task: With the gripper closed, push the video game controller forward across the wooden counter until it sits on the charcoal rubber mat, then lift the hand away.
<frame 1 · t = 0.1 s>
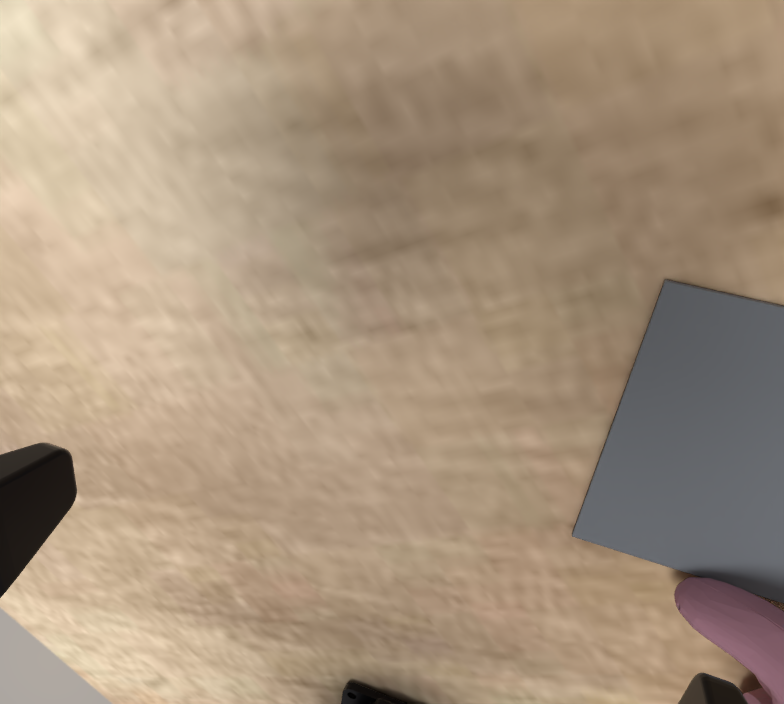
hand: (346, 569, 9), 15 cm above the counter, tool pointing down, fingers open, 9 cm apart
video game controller: (749, 658, 25), on the counter, touching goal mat
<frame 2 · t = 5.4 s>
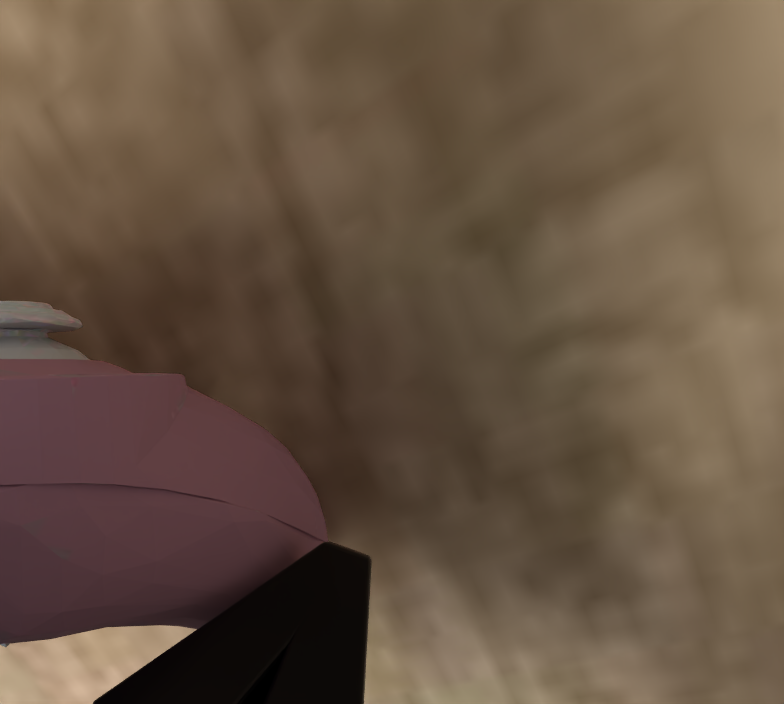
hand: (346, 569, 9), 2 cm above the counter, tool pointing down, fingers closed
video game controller: (78, 406, 11), on the counter, touching gripper
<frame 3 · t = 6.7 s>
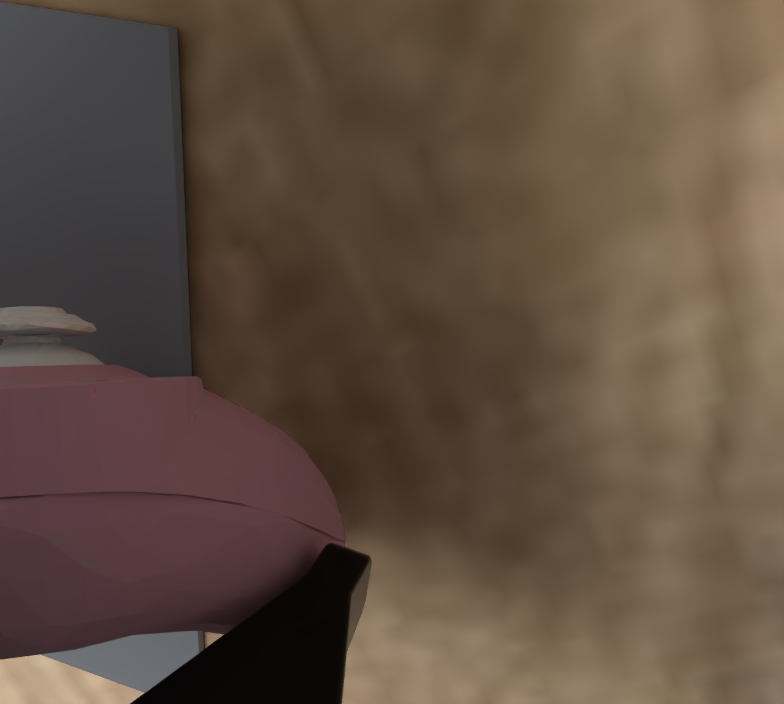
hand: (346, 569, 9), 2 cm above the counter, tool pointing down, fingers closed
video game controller: (89, 410, 11), resting on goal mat, touching gripper
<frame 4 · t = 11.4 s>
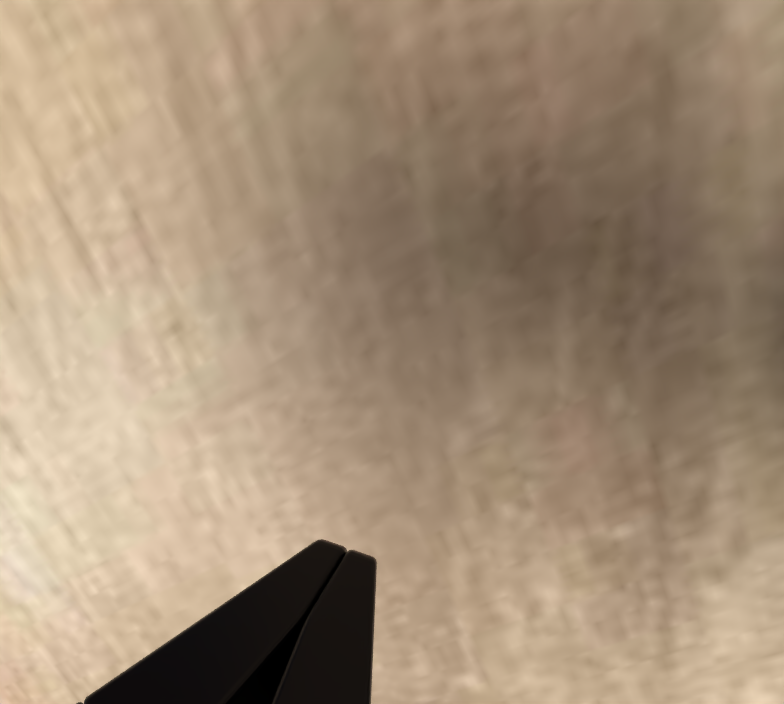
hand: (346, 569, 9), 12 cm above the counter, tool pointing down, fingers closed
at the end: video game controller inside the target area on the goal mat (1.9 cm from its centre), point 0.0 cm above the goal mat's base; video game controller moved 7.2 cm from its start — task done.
